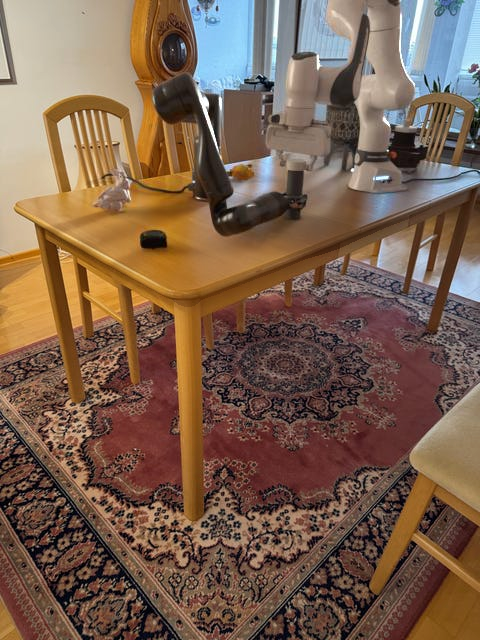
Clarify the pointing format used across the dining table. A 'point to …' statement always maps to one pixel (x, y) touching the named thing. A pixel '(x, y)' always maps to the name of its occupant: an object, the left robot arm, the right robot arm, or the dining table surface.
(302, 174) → the jar
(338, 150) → the rock
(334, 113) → the planter
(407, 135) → the mechanical component
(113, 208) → the figurine
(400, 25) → the right robot arm
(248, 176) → the toy
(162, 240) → the tape measure
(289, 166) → the lid
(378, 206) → the dining table surface
